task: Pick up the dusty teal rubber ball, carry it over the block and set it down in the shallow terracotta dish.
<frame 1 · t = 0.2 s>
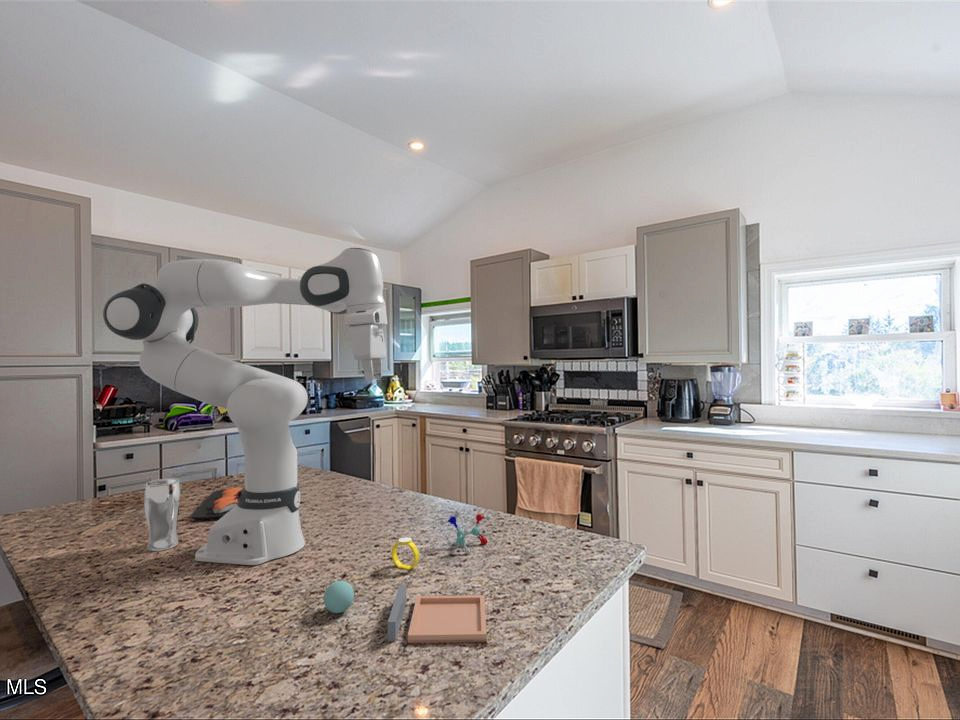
hand: (374, 379, 109), 39 cm above the worktop, tool pointing down, fingers open, 8 cm apart
dish: (449, 620, 78), on the worktop
sushi plate: (258, 505, 145), on the worktop
beer glass: (162, 547, 110), on the worktop
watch: (405, 568, 99), on the worktop
block: (397, 620, 79), on the worktop
ball: (339, 611, 81), on the worktop
molecular model: (464, 547, 110), on the worktop
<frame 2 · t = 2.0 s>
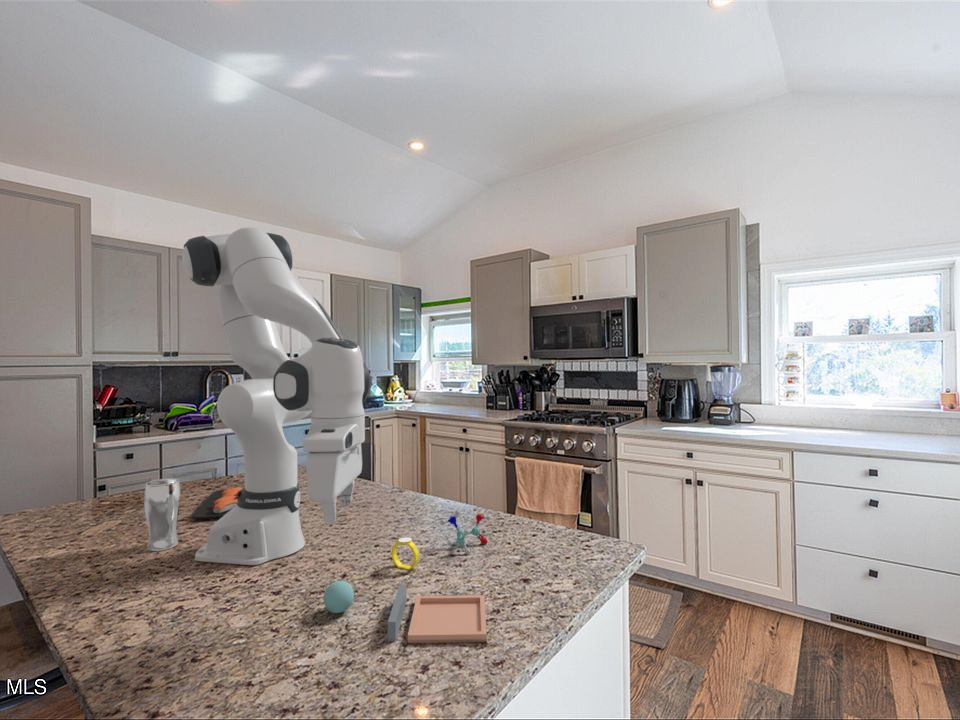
hand: (339, 513, 81), 17 cm above the worktop, tool pointing down, fingers open, 8 cm apart
nothing on the worktop moved.
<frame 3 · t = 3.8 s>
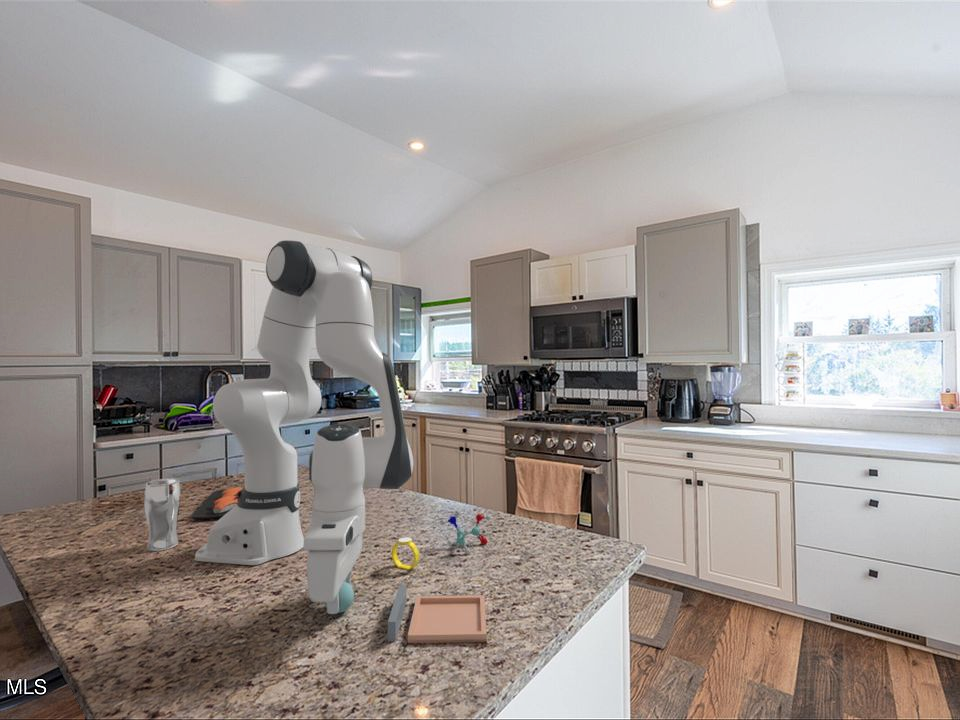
hand: (339, 601, 81), 2 cm above the worktop, tool pointing down, fingers closed on ball, 5 cm apart
ball: (338, 611, 81), on the worktop, touching gripper
everything else where it was.
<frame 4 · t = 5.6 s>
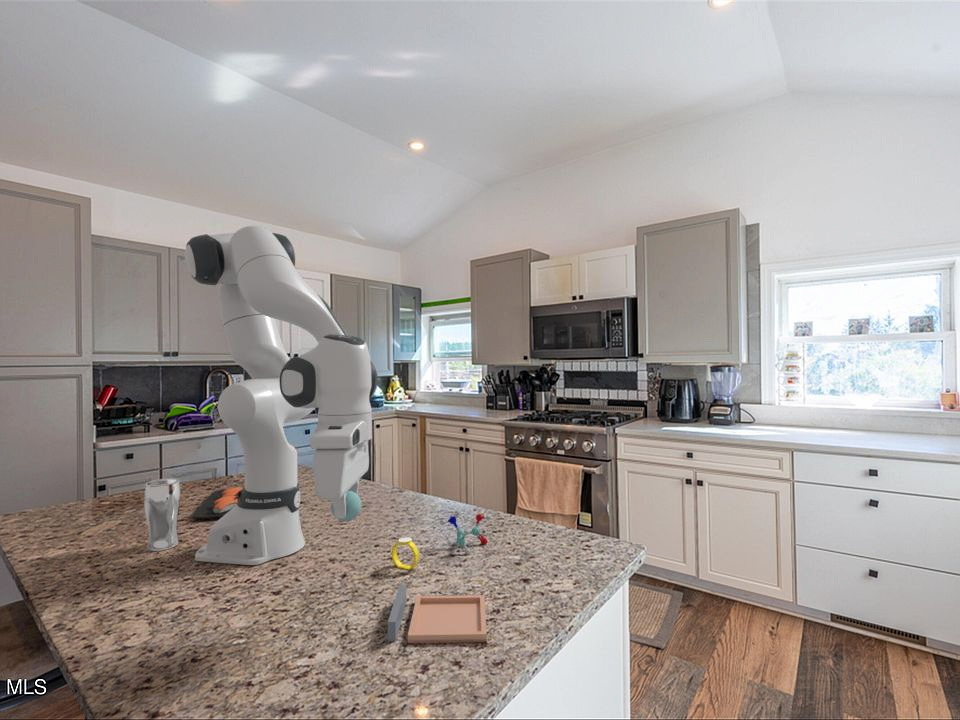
hand: (346, 511, 81), 17 cm above the worktop, tool pointing down, fingers closed on ball, 5 cm apart
ball: (346, 520, 81), point 16 cm above the worktop, touching gripper
everything else where it was.
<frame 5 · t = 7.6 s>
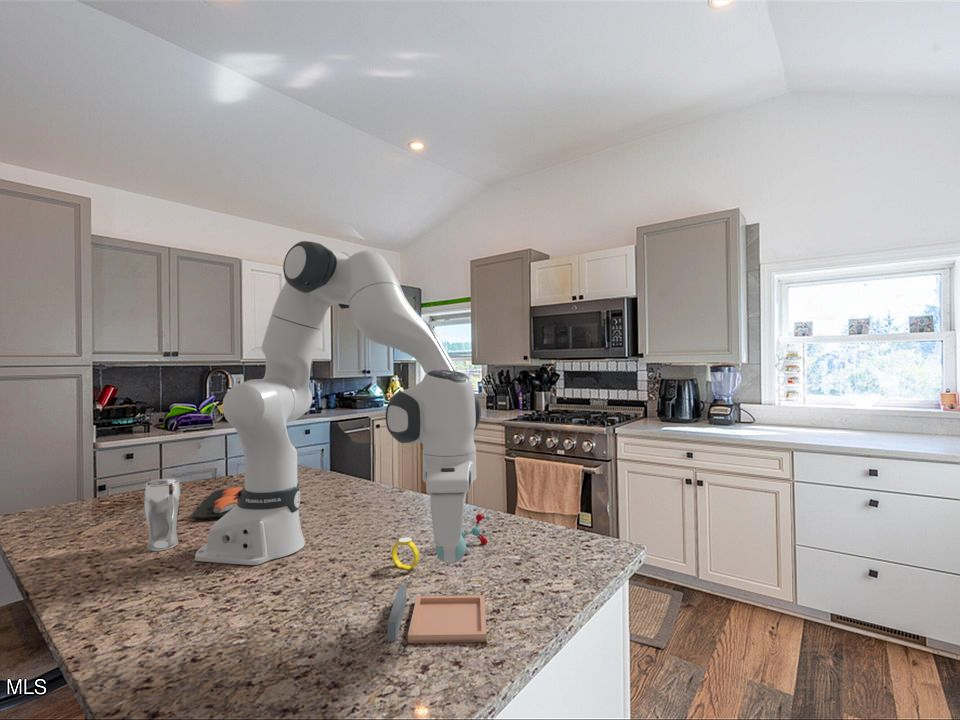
hand: (450, 552, 78), 11 cm above the worktop, tool pointing down, fingers closed on ball, 5 cm apart
ball: (450, 562, 78), point 10 cm above the worktop, touching gripper
everything else where it was.
when the fingers open (3 cm above the worktop, at t = 9.2 s): ball stays where it is, resting on dish.
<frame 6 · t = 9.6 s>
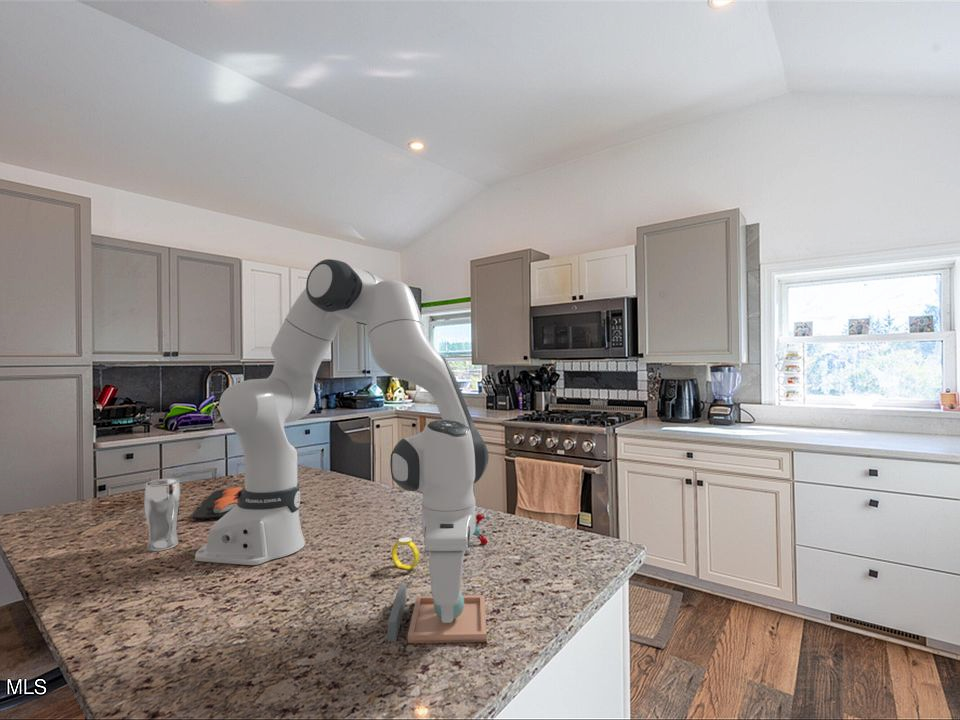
hand: (448, 604, 78), 3 cm above the worktop, tool pointing down, fingers open, 8 cm apart
ball: (449, 618, 78), resting on dish
everything else where it was.
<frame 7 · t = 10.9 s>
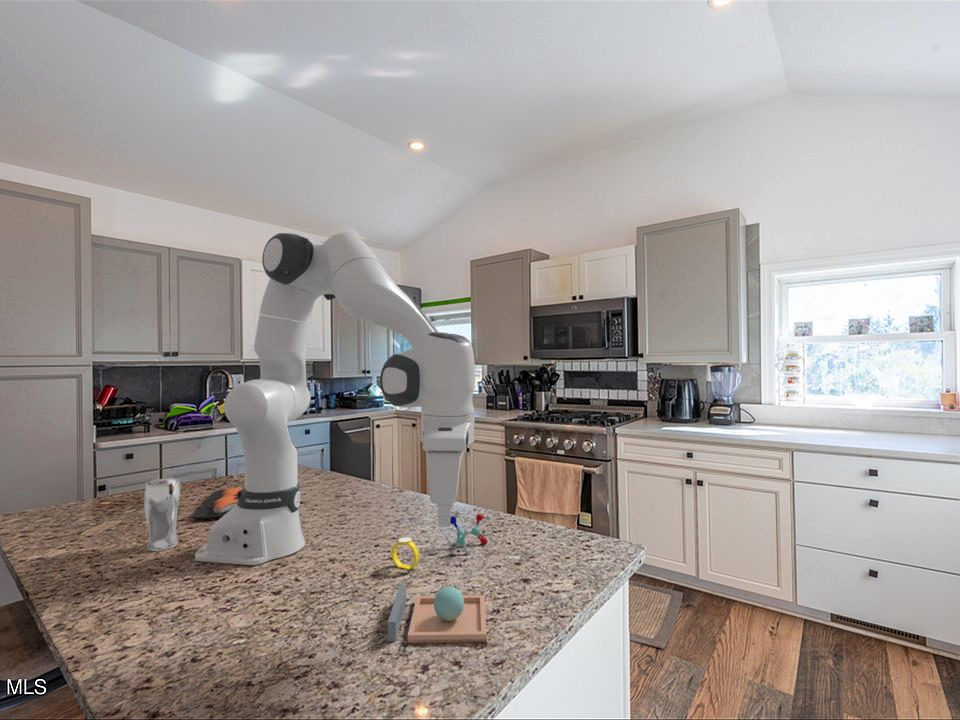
hand: (446, 515, 78), 17 cm above the worktop, tool pointing down, fingers open, 8 cm apart
nothing on the worktop moved.
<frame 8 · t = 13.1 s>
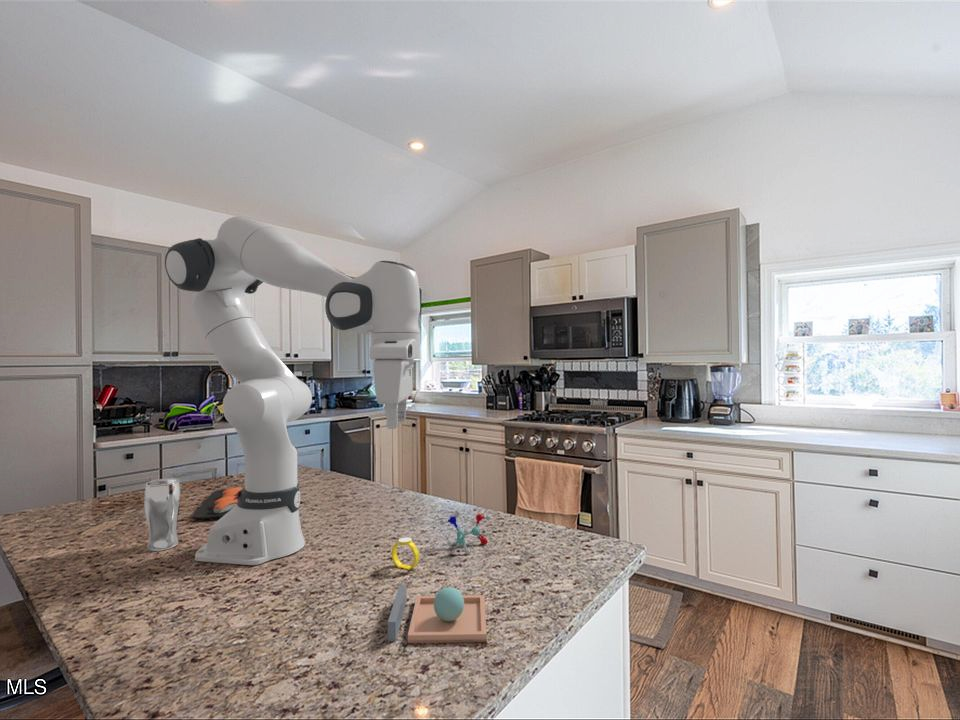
hand: (396, 424, 88), 31 cm above the worktop, tool pointing down, fingers open, 8 cm apart
nothing on the worktop moved.
at the end: ball inside the target area on the dish (0.0 cm from its centre), point 0.4 cm above the dish's base; the gripper is holding nothing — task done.
